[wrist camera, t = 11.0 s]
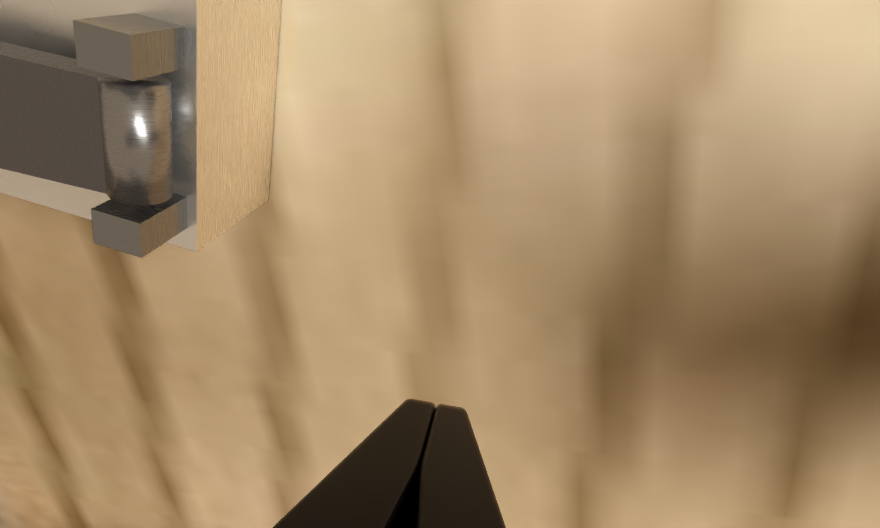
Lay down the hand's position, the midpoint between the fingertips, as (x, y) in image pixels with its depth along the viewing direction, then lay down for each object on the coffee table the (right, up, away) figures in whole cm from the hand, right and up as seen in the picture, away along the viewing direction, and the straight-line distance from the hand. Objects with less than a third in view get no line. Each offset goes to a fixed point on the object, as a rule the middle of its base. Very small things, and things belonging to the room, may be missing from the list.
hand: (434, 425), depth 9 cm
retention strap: (-8, +5, +7) cm, 12 cm away
